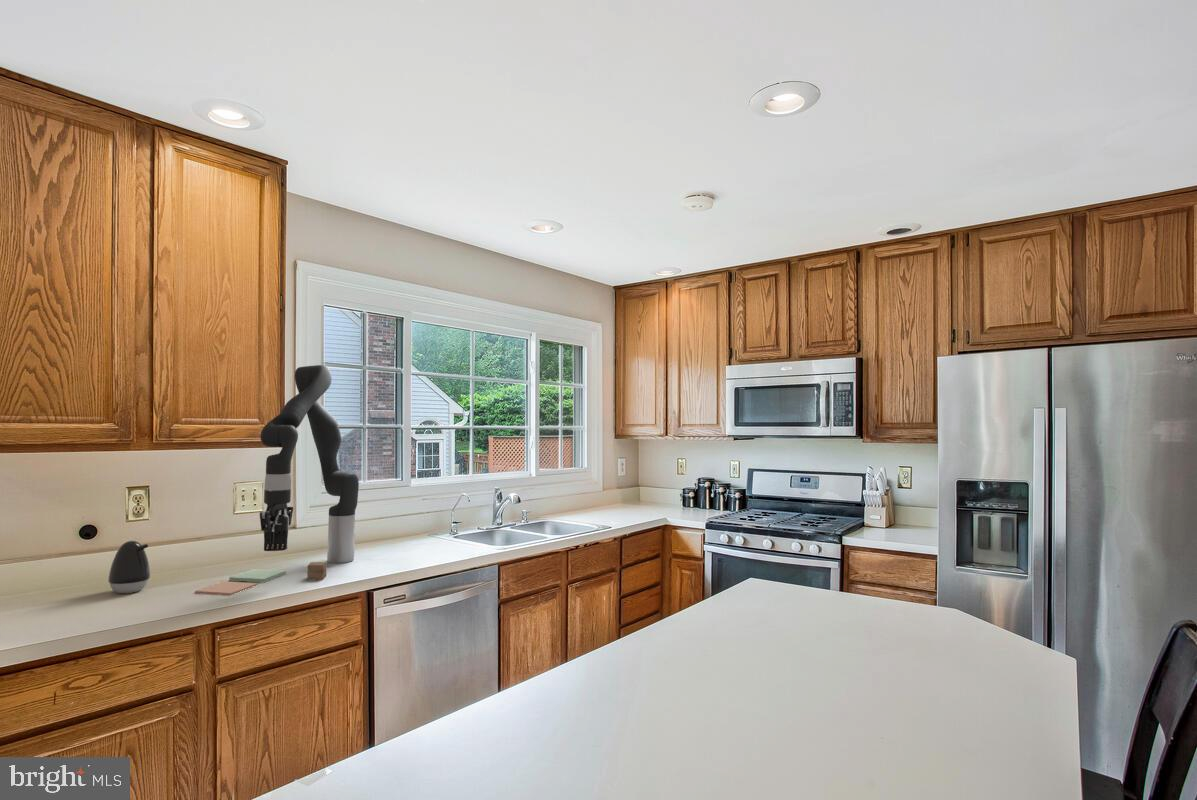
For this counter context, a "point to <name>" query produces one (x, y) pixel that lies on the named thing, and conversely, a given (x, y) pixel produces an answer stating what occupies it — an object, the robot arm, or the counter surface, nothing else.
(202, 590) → the terracotta tile
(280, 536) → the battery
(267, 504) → the robot arm
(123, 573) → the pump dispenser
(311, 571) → the walnut block
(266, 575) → the sage tile
